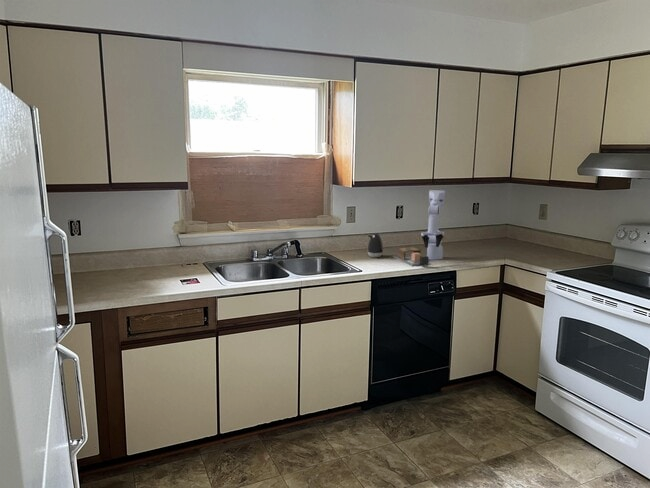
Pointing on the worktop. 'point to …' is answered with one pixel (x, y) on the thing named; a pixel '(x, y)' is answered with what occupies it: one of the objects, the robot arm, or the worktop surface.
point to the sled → (421, 260)
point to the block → (416, 256)
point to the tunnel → (403, 251)
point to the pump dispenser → (375, 246)
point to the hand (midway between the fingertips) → (431, 247)
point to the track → (408, 260)
